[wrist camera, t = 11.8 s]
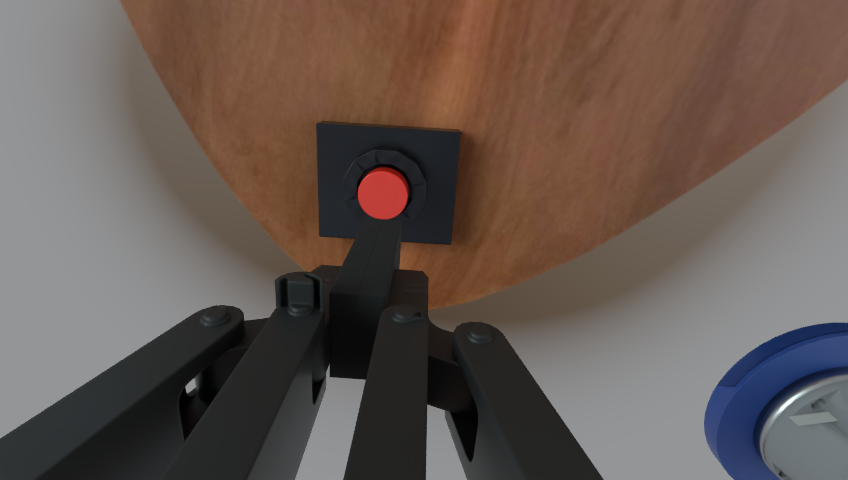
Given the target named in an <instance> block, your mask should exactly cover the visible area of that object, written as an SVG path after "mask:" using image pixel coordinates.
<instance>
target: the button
mask: <svg viewBox="0 0 848 480" xmlns="http://www.w3.org/2000/svg"><path fill="white" fill-rule="evenodd" d="M408 195H409V188H408V184H407V181H406V180H405V178H404V177H403V175H402V174H401V173H399V172H398V171H396V170H394V169H392V168H388V167H380V168H376V169H374V170H372V171H370V172H369V173H368V174H367V175H366V176H365V178H364V179H363V180H362V182H361V183H360V186H359V189H358V200H359V203H360V205H361V207H362V209H363V210H364V211H365V212H366V213H367V214H368V215H370V216H372V217H374V218H376V219H391V218H394V217H396V216H397V215H399V214H400V213H401V212H402V211H403V209H404V208H405V206H406V204H407V200H408Z"/></svg>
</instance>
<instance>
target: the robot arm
mask: <svg viewBox="0 0 848 480" xmlns="http://www.w3.org/2000/svg"><path fill="white" fill-rule="evenodd" d="M401 228H402V221H401V220H387V219H374V218H365V220H364V222H363V224H362V226H361V228H360V230H359V232H358V234H357V236H356V238H355V241H354V243H353V245H352V247H351V249H350V251H349V253H348V255H347V257H346V259H345V261H344V263H343V265H342V266H330V265H321V266H319V267H318V268H316V269H314V270H313V271H312V272H293V273H287V274H285V275H282V276H280V277H279V278H277V279H276V280H275V292H276V309H275V310H274V312H273V313H272V315H271V316H270V317H269V318H264V319H257V320H247V321H244V314H243V312H242V311H241V310H240V309H239V308H236V307H233V306H225V305H219V306H212V307H209V308H206V309H202V310H200V311H198V312H196V313H194V314H193V315H191V316H190V317H188V318H186V319H185V320H183V321H182V322H181V323H179V324H177V325H176V326H174V327H173V328H171V329H169V330H168V331H166V332H165V333H163V334H162V335H160V336H159V337H157V338H156V339H154V340H152V341H151V342H149V343H148V344H146V345H145V346H143V347H141V348H140V349H138V350H137V351H135V352H134V353H132V354H131V355H129V356H128V357H126V358H125V359H123V360H121V361H120V362H118V363H117V364H115V365H114V366H112V367H110V368H109V369H107V370H106V371H104V372H103V373H101V374H100V375H98V376H97V377H95V378H93V379H92V380H90V381H89V382H87V383H86V384H84V385H83V386H81V387H80V388H78V389H76V390H75V391H74V392H72V393H70V394H69V395H67V396H66V397H64V398H62V399H61V400H59V401H58V402H56V403H55V404H53V405H52V406H50V407H48V408H47V409H45V410H44V411H42V412H41V413H39V414H38V415H36V416H35V417H33V418H31V419H30V420H28V421H27V422H25V423H24V424H22V425H21V426H19V427H17V428H16V429H14V430H13V431H11V432H10V433H9V434H7V435H5V436H4V437H2V438H1V439H0V480H295V477H296V474H297V472H298V468H299V466H300V463H301V460H302V457H303V454H304V451H305V448H306V445H307V442H308V439H309V436H310V433H311V431H312V428H313V425H314V422H315V419H316V416H317V413H318V410H319V407H320V404H321V401H322V398H323V396H324V393H325V389H326V371H327V369H328V366H329V363H330V377H338V378H352V379H366V382H365V386H364V391H363V395H362V400H361V404H360V409H359V413H358V417H357V422H356V426H355V431H354V435H353V440H352V444H351V448H350V453H349V457H348V462H347V466H346V471H345V475H344V479H343V480H426V437H427V436H426V434H427V404H428V405H431V406H434V407H437V408H440V409H443V410H445V418H446V421H447V424H448V427H449V430H450V432H451V435H452V438H453V441H454V444H455V447H456V449H457V452H458V455H459V458H460V461H461V464H462V466H463V469H464V472H465V475H466V478H467V480H603V478H602V477H601V475H600V474H599V472H598V471H597V469H596V468H595V467H594V465H593V464H592V462H591V461H590V459H589V458H588V456H587V455H586V454H585V452H584V451H583V449H582V448H581V446H580V445H579V443H578V442H577V441H576V439H575V438H574V436H573V435H572V433H571V432H570V430H569V429H568V428H567V426H566V425H565V423H564V422H563V420H562V419H561V417H560V416H559V414H558V413H557V412H556V410H555V409H554V407H553V406H552V404H551V403H550V401H549V400H548V399H547V397H546V396H545V394H544V393H543V391H542V390H541V389H540V387H539V385H538V384H537V383H536V381H535V380H534V378H533V377H532V375H531V374H530V372H529V371H528V370H527V368H526V367H525V365H524V364H523V362H522V361H521V359H520V358H519V357H518V355H517V354H516V353H515V351H514V349H513V348H512V346H511V345H510V344H509V342H508V341H507V339H506V338H505V336H504V335H503V334H502V333H501V332H500V331H499V330H498V329H497V328H495V327H493V326H491V325H489V324H486V323H482V322H468V323H463V324H461V325H459V326H457V327H456V329H455V330H454V333H453V332H449V331H445V330H443V329H440V328H438V327H437V326H435V325H434V324H433V323H431V321H430V320H429V317H428V277H427V276H426V275H425V273H424V272H423V271H414V270H400V269H399V264H400V246H401ZM194 378H195V382H196V388H195V389H193V390H192V391H191V392H189V393H186V389H185V386H186V385H187V384H188V383H189V382H190V381H191V380H192V379H194ZM753 443H754V447H755V450H756V452H757V454H758V456H759V457H760V459H761V460H762V461H763V462H764V463H765V464H766V466H767V467H768V468H769V469H770V470H771V471H772V472H773V473H774V475H776V476H777V477H778V478H779V479H781V480H848V367H839V368H831V369H827V370H822V371H819V372H815V373H812V374H810V375H807V376H805V377H803V378H800V379H798V380H796V381H795V382H793V383H791V384H790V385H788V386H786V387H785V388H784V389H782V390H781V391H780V392H778V393H777V394H776V395H775V396H774V397H773V398H772V399H771V400H770V401H769V402H768V403H767V404H766V406H765V407H764V408H763V410H762V411H761V413H760V414H759V416H758V418H757V420H756V423H755V426H754V431H753Z"/></svg>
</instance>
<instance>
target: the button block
mask: <svg viewBox="0 0 848 480" xmlns="http://www.w3.org/2000/svg"><path fill="white" fill-rule="evenodd" d="M316 129H317V165H318V200H319V235H320V236H321V237H337V238H353V239H355V238H356V236H357V234H358V232H359V230H360V228H361V226H362V224H363V222H364V220H365V218H374V217H372V216H370V215H368V214H367V213H366V212H365V211H364V210H363V209H362V207H361V205H360V203H359V200H358V189H359V186H360V183H361V182H362V180H363V179H364V178H365V176H366V175H367V174H368V173H369V172H370V171H372V170H374V169H376V168H380V167H388V168H392V169H394V170H396V171H398V172H399V173H401V174H402V175H403V177H404V178H405V180H406V181H407V184H408V188H409V195H408V200H407V204H406V206H405V208H404V209H403V211H402V212H401V213H400V214H399V215H397V216H396V217H394V218H391V219H387V220H401V221H402V228H401V242H416V243H432V244H448V245H451V238H452V227H453V216H454V204H455V193H456V181H457V170H458V158H459V147H460V135H461V132H460V131H459V130H456V129H440V128H424V127H408V126H392V125H377V124H361V123H345V122H329V121H322V122H319V123H317V124H316ZM374 219H376V218H374Z"/></svg>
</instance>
